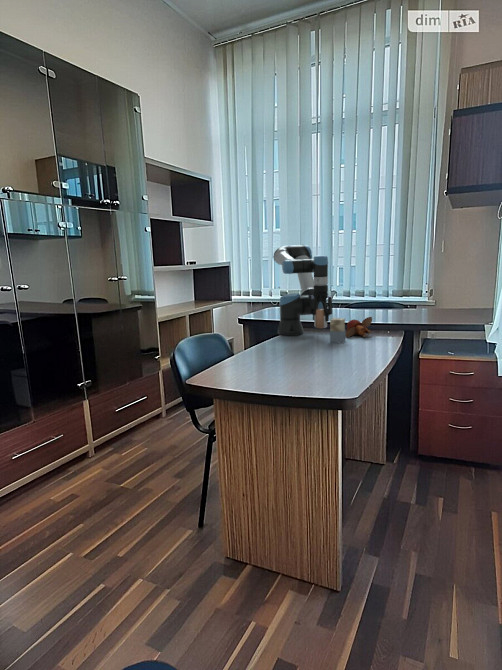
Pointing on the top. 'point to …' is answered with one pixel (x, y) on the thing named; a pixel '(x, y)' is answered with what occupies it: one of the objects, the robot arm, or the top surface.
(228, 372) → the top surface
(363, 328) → the figurine
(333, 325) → the beige cube
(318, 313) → the tan rounded cylinder
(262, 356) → the top surface
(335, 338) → the cube bottom
